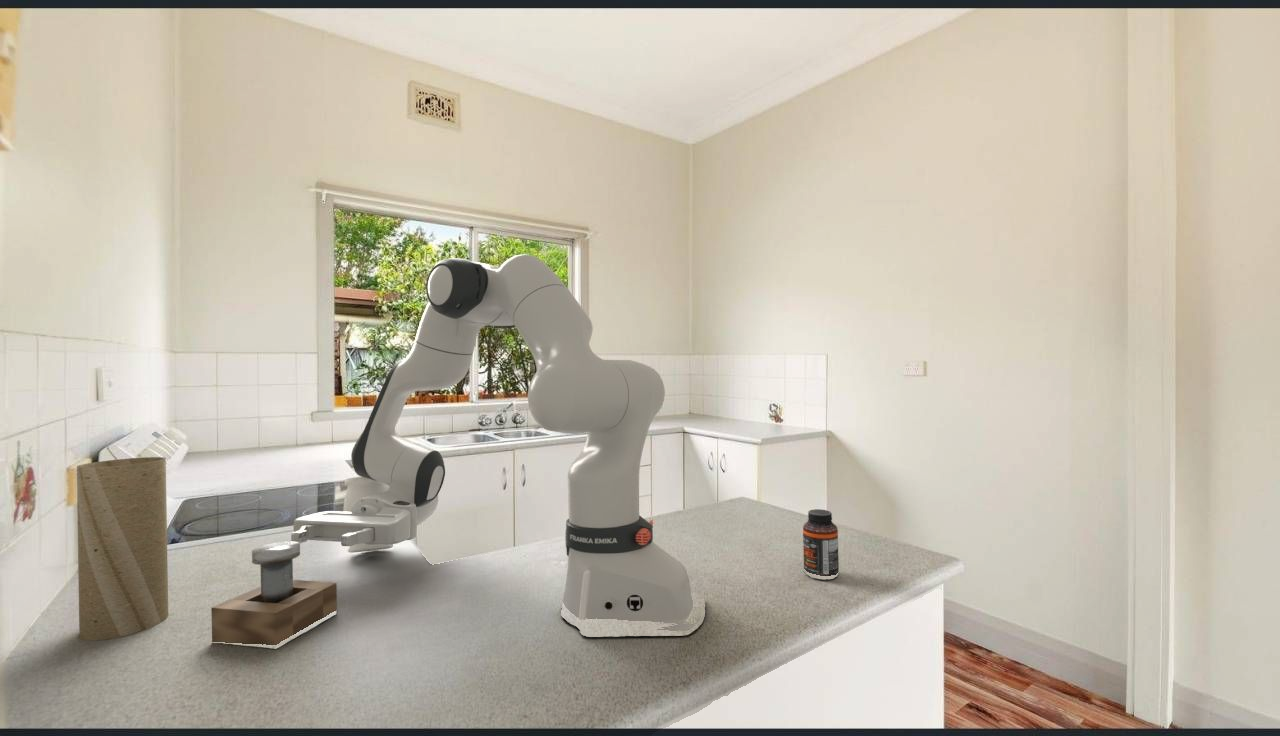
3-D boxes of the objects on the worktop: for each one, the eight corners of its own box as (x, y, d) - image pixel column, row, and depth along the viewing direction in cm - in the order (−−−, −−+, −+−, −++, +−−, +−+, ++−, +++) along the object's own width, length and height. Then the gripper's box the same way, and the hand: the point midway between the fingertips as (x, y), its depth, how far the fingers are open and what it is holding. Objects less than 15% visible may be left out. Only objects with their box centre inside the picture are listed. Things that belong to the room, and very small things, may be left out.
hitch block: (337, 614, 86) (336, 582, 86) (276, 649, 75) (275, 613, 75) (278, 609, 88) (278, 578, 88) (212, 643, 78) (211, 607, 78)
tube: (102, 617, 87) (99, 460, 87) (179, 606, 91) (177, 455, 91) (62, 646, 78) (59, 470, 78) (150, 632, 81) (147, 464, 82)
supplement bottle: (796, 572, 99) (795, 510, 99) (822, 567, 101) (820, 506, 102) (820, 584, 94) (818, 517, 94) (846, 577, 96) (844, 513, 96)
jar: (405, 546, 120) (405, 477, 124) (389, 547, 110) (389, 472, 114) (353, 552, 118) (356, 482, 123) (332, 554, 109) (336, 478, 113)
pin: (310, 620, 84) (309, 542, 84) (277, 639, 78) (275, 555, 78) (278, 617, 85) (277, 540, 86) (242, 635, 80) (241, 553, 80)
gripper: (327, 500, 106) (265, 518, 92) (423, 504, 102) (374, 523, 88) (327, 533, 105) (265, 555, 92) (423, 538, 102) (374, 562, 88)
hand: (319, 540), depth 90 cm, fingers open, 8 cm apart
